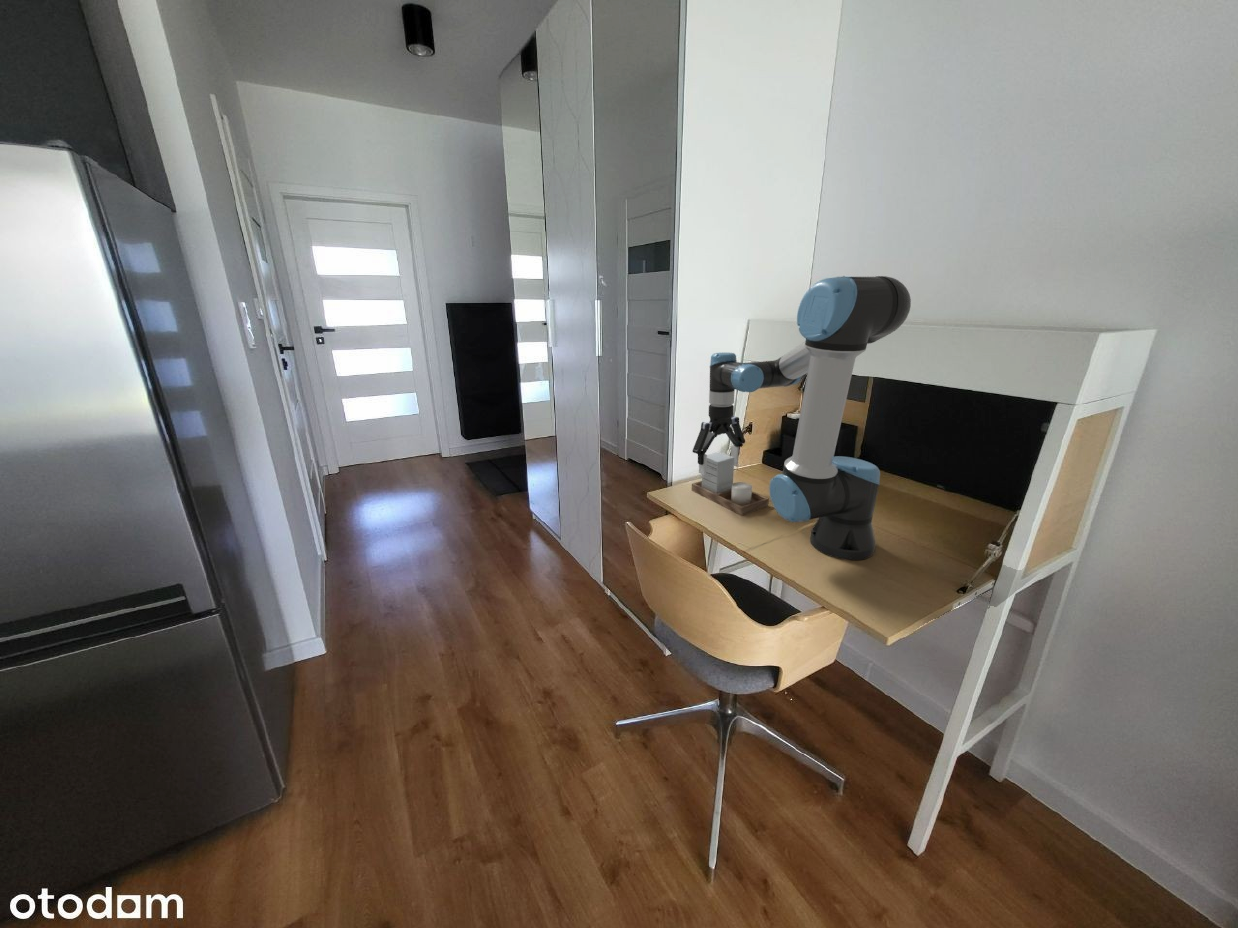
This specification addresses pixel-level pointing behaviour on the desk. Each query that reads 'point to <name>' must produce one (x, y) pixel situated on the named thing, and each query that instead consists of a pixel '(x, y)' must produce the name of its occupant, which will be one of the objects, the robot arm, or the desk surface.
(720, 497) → the tray
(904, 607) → the desk surface
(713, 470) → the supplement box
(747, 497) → the ceramic jar
